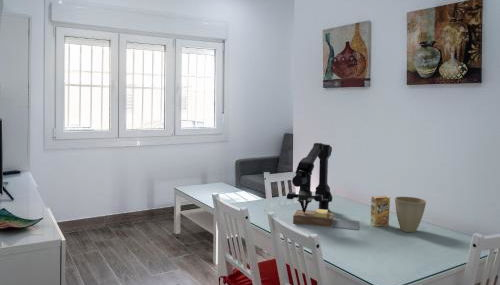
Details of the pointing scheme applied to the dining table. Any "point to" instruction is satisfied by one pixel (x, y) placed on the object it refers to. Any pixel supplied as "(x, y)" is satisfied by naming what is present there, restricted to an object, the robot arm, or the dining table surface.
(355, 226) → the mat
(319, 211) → the yellow rectangular block
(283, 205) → the dining table surface
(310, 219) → the brown wooden flat block
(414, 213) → the plant pot
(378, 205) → the candy box
